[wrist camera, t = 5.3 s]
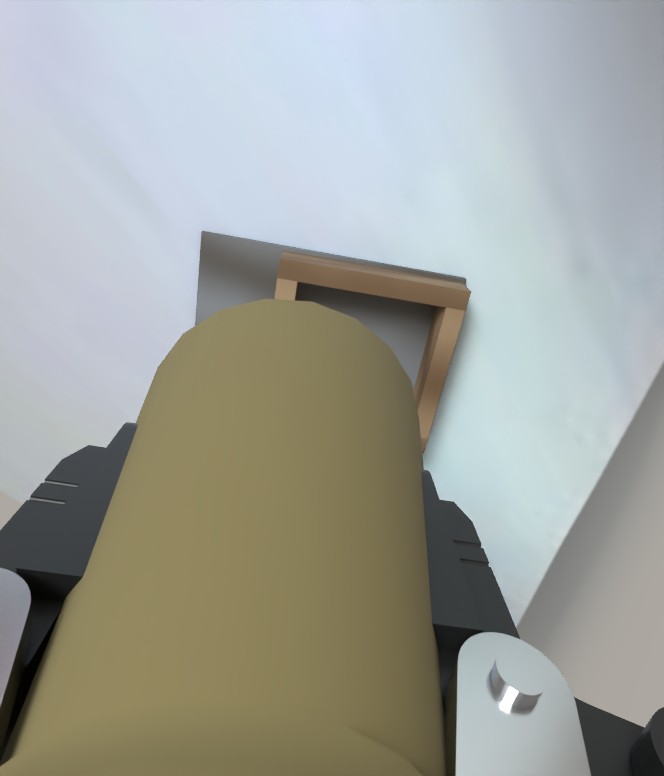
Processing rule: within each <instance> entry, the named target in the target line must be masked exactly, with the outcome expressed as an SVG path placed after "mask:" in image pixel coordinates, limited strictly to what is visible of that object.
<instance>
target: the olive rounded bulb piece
mask: <svg viewBox="0 0 664 776" xmlns="http://www.w3.org/2000/svg"><path fill="white" fill-rule="evenodd" d="M136 424H138V427H137V430H136V432H135V435H134V438H133V441H132V443H131V446H130V449H129V452H128V455H127V457H126V460H125V463H124V466H123V468H122V471H121V474H120V477H119V479H118V482H117V485H116V488H115V490H114V493H113V496H112V499H111V501H110V504H109V507H108V510H107V513H106V515H105V518H104V521H103V524H102V526H101V529H100V532H99V535H98V537H97V540H96V543H95V546H94V548H93V551H92V554H91V557H90V559H89V562H88V565H87V568H86V570H85V573H84V575H83V577H82V579H81V580H80V581H79V582H78V584H77V585H76V586H75V587H74V588H73V590H72V591H71V592H70V593H69V594H68V596H67V597H66V599H65V601H64V604H63V606H62V609H61V611H60V614H59V616H58V619H57V621H56V624H55V626H54V629H53V631H52V634H51V636H50V639H49V641H48V644H47V646H46V649H45V651H44V654H43V656H42V659H41V661H40V664H39V666H38V669H37V671H36V674H35V676H34V679H33V681H32V684H31V686H30V689H29V691H28V694H27V696H26V699H25V701H24V704H23V706H22V709H21V711H20V714H19V716H18V719H17V721H16V724H15V726H14V729H13V731H12V734H11V736H10V739H9V741H8V744H7V746H6V749H5V751H4V754H3V756H2V759H1V761H0V776H446V762H445V738H444V721H445V715H444V707H443V697H442V688H441V676H440V664H439V651H438V646H437V642H436V638H435V633H434V629H433V625H432V614H431V599H430V585H429V571H428V557H427V543H426V529H425V515H424V501H423V487H422V472H421V471H422V470H424V469H423V457H422V446H421V434H420V423H419V416H418V411H417V406H416V401H415V396H414V391H413V386H412V382H411V380H410V378H409V377H408V375H407V374H406V372H405V370H404V369H403V367H402V365H401V364H400V362H399V361H398V359H397V357H396V356H395V354H394V352H393V351H392V349H391V347H390V346H389V345H387V344H386V343H385V342H384V341H383V340H381V339H380V338H379V337H378V336H376V335H375V334H374V333H373V332H372V331H370V330H369V329H368V328H367V327H365V326H364V325H363V324H362V323H361V322H359V321H358V320H357V319H356V318H353V317H350V316H348V315H345V314H343V313H340V312H338V311H335V310H333V309H330V308H327V307H325V306H322V305H320V304H317V303H315V302H310V301H294V300H279V299H262V300H258V301H254V302H250V303H246V304H242V305H238V306H234V307H230V308H226V309H222V310H219V311H218V312H216V313H215V314H213V315H212V316H210V317H209V318H207V319H206V320H204V321H202V322H201V323H199V324H198V325H196V326H195V327H193V328H192V329H190V330H189V331H187V332H185V333H184V334H183V335H182V336H181V338H180V339H179V340H178V341H177V343H176V344H175V345H174V347H173V348H172V349H171V351H170V352H169V353H168V355H167V356H166V357H165V359H164V360H163V361H162V363H161V364H160V365H159V367H158V369H157V371H156V374H155V376H154V379H153V381H152V384H151V386H150V389H149V391H148V394H147V396H146V399H145V401H144V404H143V406H142V409H141V411H140V414H139V416H138V419H137V421H136Z"/></svg>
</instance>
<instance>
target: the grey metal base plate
mask: <svg viewBox="0 0 664 776" xmlns="http://www.w3.org/2000/svg"><path fill="white" fill-rule="evenodd" d="M465 281H466V279H465V278H463V277H457V276H452V275H446V274H440V273H435V272H429V271H424V270H418V269H412V268H407V267H401V266H396V265H390V264H384V263H379V262H373V261H368V260H362V259H356V258H351V257H345V256H340V255H334V254H329V253H323V252H317V251H312V250H306V249H301V248H295V247H289V246H284V245H278V244H273V243H267V242H261V241H256V240H250V239H245V238H239V237H233V236H228V235H222V234H217V233H211V232H205V231H202V235H201V250H200V264H199V278H198V292H197V307H196V321H195V326H196V325H198V324H199V323H201V322H202V321H204V320H206V319H207V318H209V317H210V316H212V315H213V314H215V313H216V312H218V311H219V310H222V309H226V308H230V307H234V306H238V305H242V304H246V303H250V302H254V301H258V300H262V299H279V300H294V301H310V302H315V303H317V304H320V305H322V306H325V307H327V308H330V309H333V310H335V311H338V312H340V313H343V314H345V315H348V316H350V317H353V318H356V319H357V320H358V321H359V322H361V323H362V324H363V325H364V326H365V327H367V328H368V329H369V330H370V331H372V332H373V333H374V334H375V335H376V336H378V337H379V338H380V339H381V340H383V341H384V342H385V343H386V344H387V345H389V346H390V347H391V349H392V351H393V352H394V354H395V356H396V357H397V359H398V361H399V362H400V364H401V365H402V367H403V369H404V370H405V372H406V374H407V375H408V377H409V378H410V380H411V382H412V386H413V391H414V396H415V401H416V406H417V411H418V416H419V423H420V434H421V446H422V453H424V450H425V446H426V443H427V439H428V436H429V433H430V429H431V426H432V422H433V419H434V416H435V412H436V409H437V406H438V402H439V399H440V395H441V392H442V389H443V385H444V382H445V378H446V375H447V372H448V368H449V365H450V361H451V358H452V355H453V351H454V348H455V345H456V341H457V338H458V334H459V331H460V328H461V324H462V321H463V317H464V314H465V311H466V307H467V304H468V300H469V297H470V294H471V291H470V290H469V289H468V288H467V287H466V286H465Z"/></svg>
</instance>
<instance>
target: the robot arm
mask: <svg viewBox="0 0 664 776" xmlns="http://www.w3.org/2000/svg"><path fill="white" fill-rule="evenodd" d="M137 427H138V424H135V423H129V422H127V423H125V424H124V425H123V426H122V428H121V429H120V430H119V432H118V433H117V434H116V436H115V437H114V438H113V440H112V441H111V442H110V444H109V445H108V446H107V448H104V447H97V446H91V445H88V446H86V447H85V448H83V449H81V450H79V451H77V452H75V453H73V454H71V455H70V456H68V457H66V458H64V459H62V460H61V461H60V462H59V464H58V465H57V466H56V467H55V468H54V469H53V471H52V472H51V473H50V474H49V475H48V476H47V477H46V479H45V482H44V483H41V484H40V486H39V487H38V488H37V489H36V490H35V491H34V492H33V494H32V495H31V497H30V500H26V502H25V503H24V504H23V505H22V506H21V507H20V509H19V510H18V511H17V512H16V513H15V514H14V515H13V517H12V518H11V519H10V520H9V521H8V522H7V524H6V525H5V526H4V527H3V528H2V529H1V531H0V761H1V759H2V756H3V754H4V751H5V749H6V746H7V744H8V741H9V739H10V736H11V734H12V731H13V729H14V726H15V724H16V721H17V719H18V716H19V714H20V711H21V709H22V706H23V704H24V701H25V699H26V696H27V694H28V691H29V689H30V686H31V684H32V681H33V679H34V676H35V674H36V671H37V669H38V666H39V664H40V661H41V659H42V656H43V654H44V651H45V649H46V646H47V644H48V641H49V639H50V636H51V634H52V631H53V629H54V626H55V624H56V621H57V619H58V616H59V614H60V611H61V609H62V606H63V604H64V601H65V599H66V597H67V596H68V594H69V593H70V592H71V591H72V590H73V588H74V587H75V586H76V585H77V584H78V582H79V581H80V580H81V579H82V577H83V575H84V573H85V570H86V568H87V565H88V562H89V559H90V557H91V554H92V551H93V548H94V546H95V543H96V540H97V537H98V535H99V532H100V529H101V526H102V524H103V521H104V518H105V515H106V513H107V510H108V507H109V504H110V501H111V499H112V496H113V493H114V490H115V488H116V485H117V482H118V479H119V477H120V474H121V471H122V468H123V466H124V463H125V460H126V457H127V455H128V452H129V449H130V446H131V443H132V441H133V438H134V435H135V432H136V430H137ZM421 472H422V487H423V501H424V515H425V529H426V543H427V557H428V571H429V585H430V599H431V614H432V625H433V629H434V633H435V638H436V642H437V646H438V651H439V664H440V676H441V688H442V697H443V707H444V715H445V721H444V738H445V762H446V776H664V707H663V708H661V709H659V710H658V711H657V712H656V713H655V714H654V715H653V716H652V718H651V719H650V721H649V722H648V724H647V725H646V727H645V728H644V727H641V726H639V725H637V724H634V723H632V722H629V721H627V720H625V719H622V718H620V717H618V716H615V715H613V714H610V713H608V712H606V711H603V710H601V709H598V708H596V707H594V706H591V705H589V704H587V703H585V702H583V701H581V700H579V699H577V698H575V697H574V696H573V693H572V690H571V689H570V686H569V684H568V683H567V681H566V679H565V678H564V676H563V675H562V673H561V672H560V671H559V670H558V668H557V667H556V666H555V665H554V664H553V663H552V662H551V661H550V660H549V659H548V658H547V657H546V656H545V655H543V654H542V653H541V652H540V651H539V650H537V649H536V648H534V647H533V646H531V645H530V644H528V643H526V642H524V641H522V640H520V637H519V635H518V632H517V630H516V627H515V625H514V623H513V620H512V618H511V615H510V613H509V610H508V608H507V605H506V603H505V601H504V598H503V596H502V593H501V591H500V588H499V586H498V584H497V581H496V579H495V576H494V574H493V571H492V569H491V567H489V566H488V564H489V562H488V559H487V557H486V554H485V552H484V549H483V548H481V542H480V540H479V537H478V535H477V532H476V530H475V527H474V525H473V523H472V521H471V520H470V519H469V518H468V517H467V516H466V515H465V514H464V513H463V511H462V510H461V509H460V508H459V507H458V506H457V505H456V504H455V503H454V502H451V501H444V500H439V497H438V494H437V491H436V488H435V485H434V482H433V479H432V477H431V474H430V472H429V471H427V470H422V471H421Z"/></svg>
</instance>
